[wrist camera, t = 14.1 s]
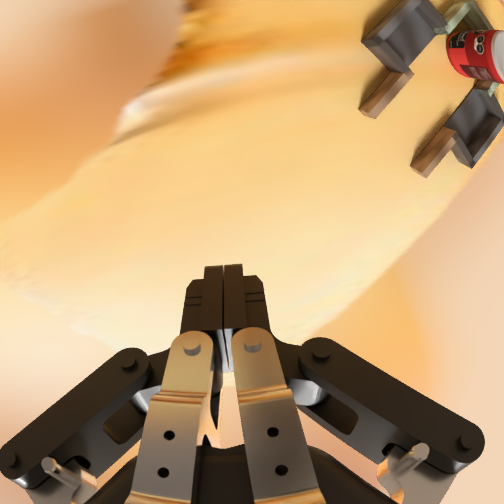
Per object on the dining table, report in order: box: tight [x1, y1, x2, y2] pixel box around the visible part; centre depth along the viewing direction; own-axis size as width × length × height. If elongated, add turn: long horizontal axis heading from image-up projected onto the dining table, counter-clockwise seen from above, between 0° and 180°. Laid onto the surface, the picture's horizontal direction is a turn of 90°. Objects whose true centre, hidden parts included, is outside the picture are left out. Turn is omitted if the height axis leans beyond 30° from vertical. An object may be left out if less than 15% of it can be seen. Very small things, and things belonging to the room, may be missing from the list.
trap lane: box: [358, 0, 504, 178], centre depth 31 cm, size 28×25×4 cm
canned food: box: [447, 30, 504, 84], centre depth 25 cm, size 8×8×11 cm
